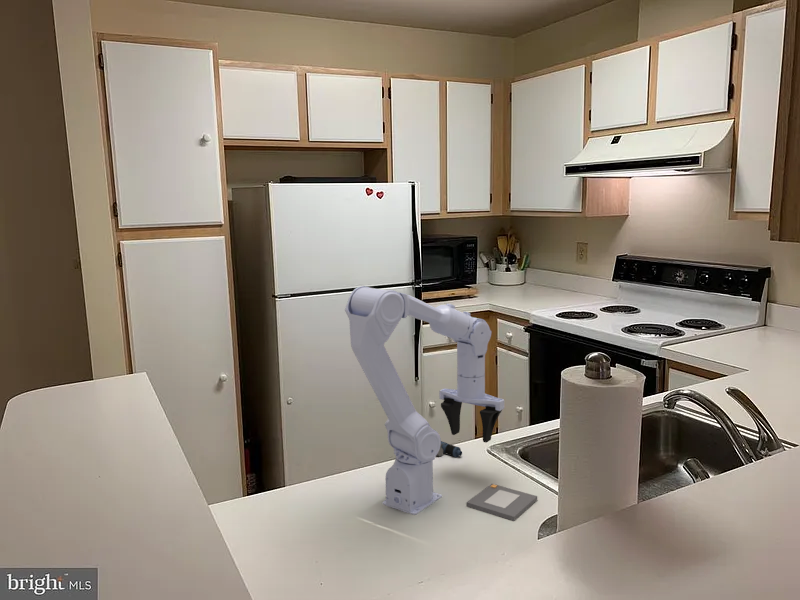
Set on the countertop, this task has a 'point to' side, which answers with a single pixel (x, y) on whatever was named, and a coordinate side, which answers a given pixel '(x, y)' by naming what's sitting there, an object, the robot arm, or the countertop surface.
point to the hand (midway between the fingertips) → (470, 437)
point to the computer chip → (502, 501)
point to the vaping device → (449, 450)
